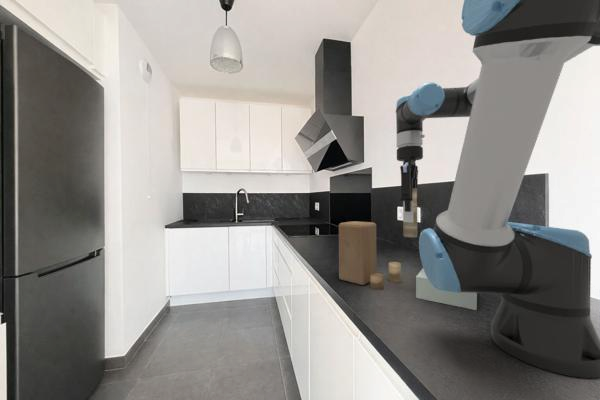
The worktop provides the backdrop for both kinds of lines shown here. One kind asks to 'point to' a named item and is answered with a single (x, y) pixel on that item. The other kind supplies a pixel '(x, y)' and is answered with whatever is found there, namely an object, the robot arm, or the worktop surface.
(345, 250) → the wooden block
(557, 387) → the worktop surface
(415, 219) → the dowel long
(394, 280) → the dowel mid
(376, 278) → the dowel short
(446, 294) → the socket block
